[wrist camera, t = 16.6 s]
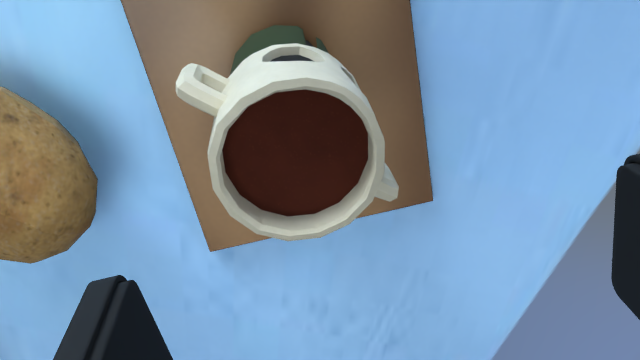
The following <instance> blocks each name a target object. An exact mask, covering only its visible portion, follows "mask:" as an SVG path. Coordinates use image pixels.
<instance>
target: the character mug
mask: <svg viewBox="0 0 640 360" xmlns="http://www.w3.org/2000/svg"><path fill="white" fill-rule="evenodd" d="M316 42H317V48H315V47H313V45H312V44H311V43H310V42H309V41H307V40H305V37H304V33H303V29H301V28H300V27H298V26H285V25H273V26H271V27H268V28H266V29H263V30H261V31H259V32H256V33H254V34H251V35H250V37H249V38H248V39H247V40H246V41H245V43H244V44H243V45H242V46H241V47H240V49H239V50H238V51H237V52H236V53H235V57H234V61H233V64H232V68H231V72H230V76H229V77H228V78H225V77H223V76H221V75H219V74H217V73H215V72H213V71H211V70H210V69H208V68H206V67H203V66H201V65H198V64H193V63H191V64H188V65H187V66H185V67H184V68H183V69H182V70H181V72H180V74H179V77H178V79H177V81H176V93H177V96H178V97H179V98H181V99H182V100H183V101H185V102H186V103H188V104H189V105H191V106H193V107H195V108H197V109H199V110H201V111H203V112H205V113H208V114H210V115H212V116H214V120H213V126H212V131H211V136H210V141H209V146H208V151H207V153H208V162H209V169H210V175H211V181H212V187H213V190H214V192H215V193H216V195H217V196H218V198H219V200H220V201H221V203H222V204H223V206H224V207H225V209H226V210H227V212H228V213H229V215H230V216H231V217H233V218H234V219H235V220H237V221H238V222H240V223H241V224H243V225H244V226H246V227H247V228H249V229H250V230H252V231H253V232H254V233H256V234H259V235H264V236H268V237H272V238H277V239H281V240H285V241H294V240H303V239H312V238H321V237H323V236H325V235H327V234H329V233H331V232H333V231H336V230H338V229H340V228H342V227H344V226H346V225H349V224H350V223H351V222H352V221H353V220H354V219H355V218H356V217H357V216H358V215H359V214H360V213H361V212H362V211H363V210H364V209H365V208H366V207H367V206H368V205H369V204H370V203H371V202H372V201H373V199H374V197H377V198H380V199H383V200H386V201H389V202H390V201H392V200H394V199H396V198H397V196H398V190H399V186H398V184H397V182H396V180H395V178H394V176H393V175H392V173H391V171H390V169H389V167H388V166H387V165H386V163H385V141H384V136H383V134H382V132H381V129H380V127H379V125H378V122H377V120H376V117H375V114H374V112H373V110H372V108H371V106H370V104H369V102H368V100H367V97H366V96H365V95H364V94H363V93H362V92H361V90H360V88H359V86H358V84H357V82H356V80H355V78H354V76H353V75H352V74H351V73H350V72H349V71H348V70H347V69H346V68H345V67H344V66H343V65H342V64H341V63H340V62H339V61H338V60H337V59H335V58H334V57H333V56H331V55H330V54H329V52H328V50H327V49H326V47H325V46H324V44H323V42H322V41H321V40H320V39H319V38H317V37H316Z"/></svg>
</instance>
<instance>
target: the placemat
mask: <svg viewBox="0 0 640 360" xmlns="http://www.w3.org/2000/svg"><path fill="white" fill-rule="evenodd" d="M121 3H122V5H123V8H124V11H125V14H126V17H127V19H128V22H129V25H130V28H131V31H132V34H133V36H134V39H135V42H136V45H137V48H138V50H139V53H140V56H141V59H142V62H143V64H144V67H145V70H146V73H147V76H148V79H149V81H150V84H151V87H152V90H153V93H154V95H155V98H156V101H157V104H158V107H159V109H160V112H161V115H162V118H163V121H164V123H165V126H166V129H167V132H168V135H169V138H170V140H171V143H172V146H173V149H174V152H175V154H176V157H177V160H178V163H179V166H180V168H181V171H182V174H183V177H184V180H185V183H186V185H187V188H188V191H189V194H190V197H191V199H192V202H193V205H194V208H195V211H196V213H197V216H198V219H199V222H200V225H201V228H202V230H203V233H204V236H205V239H206V242H207V244H208V247H209V250H210V252H212V251H216V250H221V249H225V248H229V247H234V246H238V245H242V244H247V243H251V242H255V241H260V240H264V239H268V238H272V237H268V236H264V235H259V234H256V233H254V232H253V231H252V230H250V229H249V228H247V227H246V226H244V225H243V224H241V223H240V222H238V221H237V220H235V219H234V218H233V217H231V216H230V215H229V213H228V212H227V210H226V209H225V207H224V206H223V204H222V203H221V201H220V200H219V198H218V196H217V195H216V193H215V192H214V190H213V187H212V181H211V175H210V169H209V162H208V153H207V151H208V146H209V141H210V136H211V131H212V126H213V120H214V116H212V115H210V114H208V113H205V112H203V111H201V110H199V109H197V108H195V107H193V106H191V105H189V104H188V103H186V102H185V101H183V100H182V99H181V98H179V97H178V96H177V93H176V81H177V79H178V77H179V74H180V72H181V70H182V69H183V68H184V67H185V66H187V65H188V64H191V63H193V64H198V65H201V66H203V67H206V68H208V69H210V70H211V71H213V72H215V73H217V74H219V75H221V76H223V77H225V78H228V77H229V76H230V72H231V68H232V64H233V61H234V57H235V53H236V52H237V51H238V50H239V49H240V47H241V46H242V45H243V44H244V43H245V41H246V40H247V39H248V38H249V37H250V35H251V34H254V33H256V32H259V31H261V30H263V29H266V28H268V27H271V26H273V25H285V26H298V27H300V28H301V29H303V33H304V37H305V40H307V41H309V42H310V43H311V44H312V45H313V47H315V48H317V42H316V37H317V38H319V39H320V40H321V41H322V42H323V44H324V46H325V47H326V49H327V50H328V52H329V54H330V55H331V56H333V57H334V58H335V59H337V60H338V61H339V62H340V63H341V64H342V65H343V66H344V67H345V68H346V69H347V70H348V71H349V72H350V73H351V74H352V75H353V76H354V78H355V80H356V82H357V84H358V86H359V88H360V90H361V92H362V93H363V94H364V95H365V96H366V97H367V100H368V102H369V104H370V106H371V108H372V110H373V112H374V114H375V117H376V120H377V122H378V125H379V127H380V129H381V132H382V134H383V136H384V141H385V163H386V165H387V166H388V167H389V169H390V171H391V173H392V175H393V176H394V178H395V180H396V182H397V184H398V186H399V190H398V196H397V198H396V199H394V200H392V201H390V202H389V201H386V200H383V199H380V198H377V197H374V199H373V201H372V202H371V203H370V204H369V205H368V206H367V207H366V208H365V209H364V210H363V211H362V212H361V213H360V214H359V215H358V216H357V217H356V218H360V217H364V216H369V215H373V214H377V213H382V212H386V211H390V210H395V209H399V208H403V207H408V206H412V205H416V204H421V203H425V202H430V201H433V195H432V186H431V178H430V169H429V161H428V152H427V143H426V135H425V126H424V118H423V109H422V100H421V92H420V83H419V75H418V66H417V57H416V49H415V40H414V32H413V23H412V14H411V6H410V0H121ZM356 218H355V219H356Z"/></svg>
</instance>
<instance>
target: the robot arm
mask: <svg viewBox="0 0 640 360" xmlns="http://www.w3.org/2000/svg"><path fill="white" fill-rule="evenodd" d="M612 284H613V286H614V289H615V291H616V293H617V295H618V296H619V297H620V299H621V300H622V301H623V302H624V303H625V304H626V305H627V306H628V307H629V309H630V310H631V311H632V312H633V313H634V314H635V315H636V316H637V317H638V319H639V320H640V154H636V155H632V156H629V157H628V158H627V159H626V161H625V163H624V165H623V166H620V167H619V168H618V170H617V178H616V198H615V218H614V238H613V258H612ZM53 360H173V358H172V356H171V354H170V352H169V350H168V348H167V346H166V344H165V342H164V340H163V337H162V335H161V333H160V331H159V329H158V327H157V325H156V323H155V321H154V318H153V316H152V314H151V312H150V310H149V308H148V306H147V304H146V302H145V300H144V297H143V295H142V293H141V291H140V289H139V287H138V285H137V283H136V282H135V281H134V280H129V281H127V280H126V278H124V277H123V276H121V275H118V276H113V277H109V278H105V279H100V280H96V281H92V282H90V283H89V284H88V286H87V288H86V290H85V292H84V294H83V296H82V298H81V301H80V303H79V305H78V307H77V309H76V311H75V313H74V316H73V318H72V320H71V322H70V324H69V326H68V329H67V331H66V333H65V335H64V337H63V339H62V341H61V344H60V346H59V348H58V350H57V352H56V354H55V357H54V359H53Z"/></svg>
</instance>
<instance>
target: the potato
mask: <svg viewBox="0 0 640 360" xmlns="http://www.w3.org/2000/svg"><path fill="white" fill-rule="evenodd" d="M97 180H98V179H97V177H96V175H95V173H94V172H93V170H92V168H91V166H90V164H89V163H88V161H87V159H86V157H85V156H84V154H83V152H82V150H81V148H80V146H79V144H78V142H77V141H76V140H75V139H74V137H73V136H72V135H71V134H70V133H69V132H68V131H67V130H66V129H65V128H64V127H63V126H62V125H61V124H60V123H59V122H58V121H57V120H56V119H54V118H53V117H52V116H50V115H49V114H47V113H46V112H44V111H43V110H41V109H40V108H38V107H37V106H35V105H34V104H32V103H31V102H29V101H27V100H25V99H24V98H22V97H20V96H18V95H17V94H15V93H13V92H11V91H10V90H8V89H6V88H4V87H0V259H2V260H10V261H17V262H25V263H34V262H38V261H41V260H44V259H46V258H49V257H51V256H54V255H57V254H59V253H62V252H64V251H67V250H68V249H69V248H70V247H71V246H72V245H73V244H74V243H75V242H76V241H77V240H78V239H79V237H80V236H81V235H82V234H83V233H84V232H85V231H86V230H87V229H88V228H89V227H90V226H91V223H92V220H93V218H94V215H95V212H96V196H97Z"/></svg>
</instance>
